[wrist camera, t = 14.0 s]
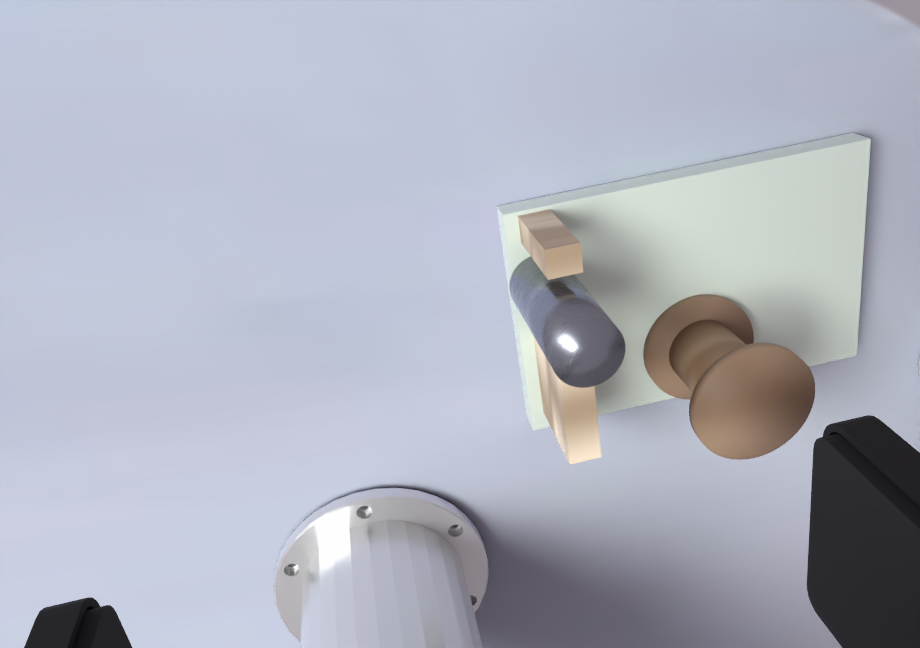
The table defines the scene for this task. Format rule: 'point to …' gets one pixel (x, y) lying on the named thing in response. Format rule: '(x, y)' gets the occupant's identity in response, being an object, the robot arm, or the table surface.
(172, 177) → the table surface
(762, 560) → the table surface
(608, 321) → the peg
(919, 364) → the coffee cup
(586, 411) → the notched rail
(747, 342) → the bobbin
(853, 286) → the base board
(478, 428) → the table surface
